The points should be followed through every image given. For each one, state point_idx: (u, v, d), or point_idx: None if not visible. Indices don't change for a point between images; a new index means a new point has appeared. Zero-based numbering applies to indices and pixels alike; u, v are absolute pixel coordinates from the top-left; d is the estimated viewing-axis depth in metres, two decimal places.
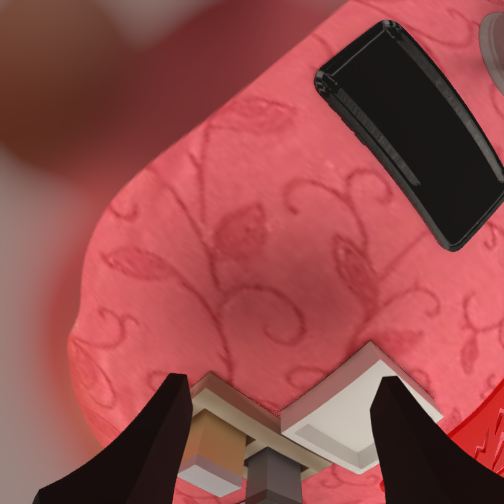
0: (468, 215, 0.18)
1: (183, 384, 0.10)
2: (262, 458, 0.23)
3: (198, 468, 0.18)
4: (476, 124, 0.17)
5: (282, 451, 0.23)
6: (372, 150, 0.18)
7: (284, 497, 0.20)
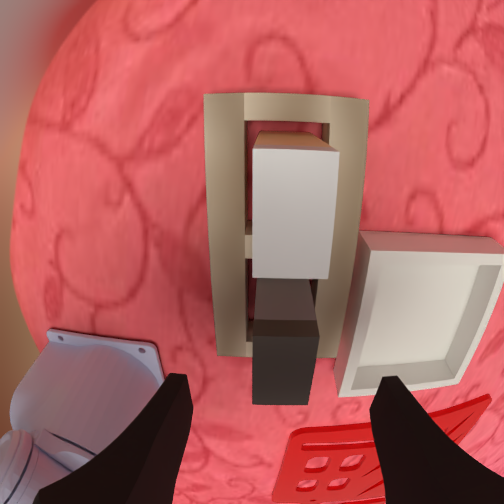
0: None
1: (183, 384, 0.10)
2: None
3: (331, 166, 0.09)
4: None
5: (323, 285, 0.16)
6: None
7: None
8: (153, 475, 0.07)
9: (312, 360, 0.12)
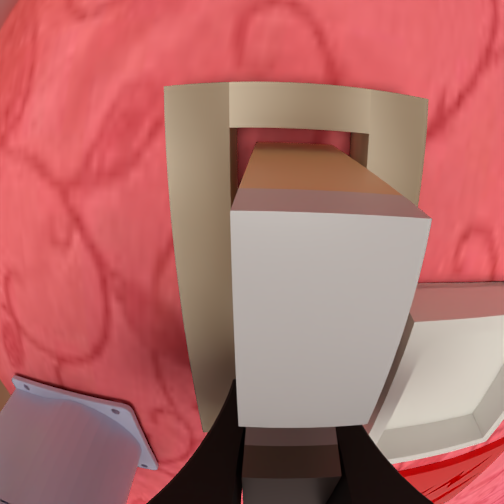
0: None
1: None
2: None
3: (410, 251, 0.04)
4: None
5: None
6: None
7: None
8: (237, 486, 0.07)
9: (326, 493, 0.07)
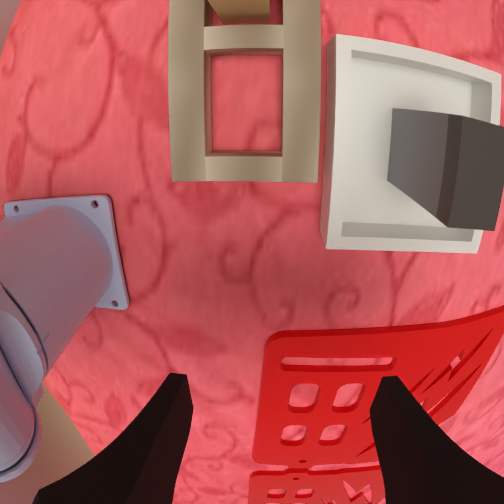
0: None
1: (183, 384, 0.10)
2: None
3: None
4: None
5: (289, 77, 0.13)
6: None
7: None
8: (153, 475, 0.07)
9: None
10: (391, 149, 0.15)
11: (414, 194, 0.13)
